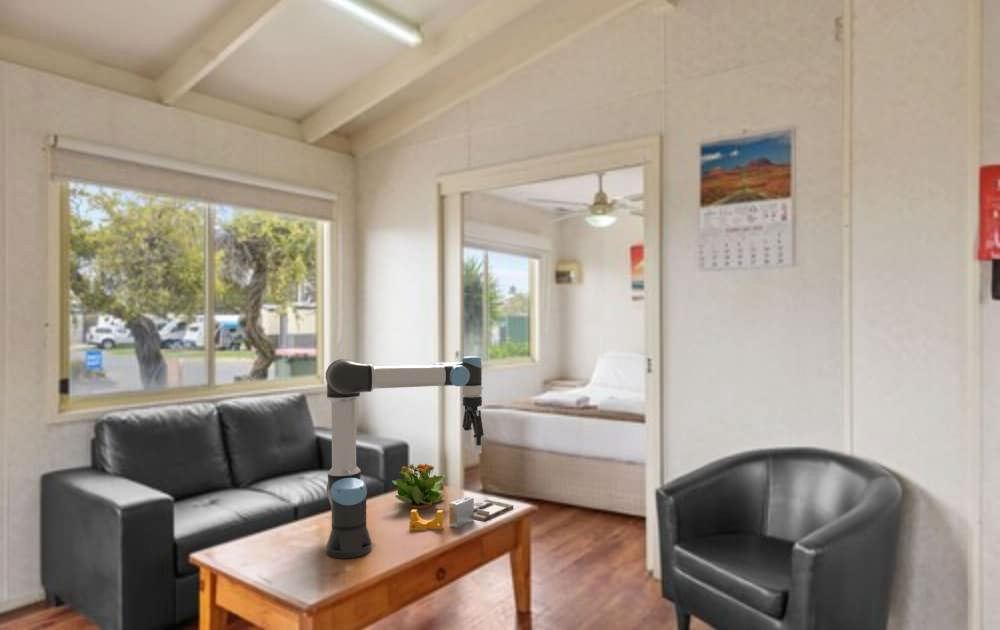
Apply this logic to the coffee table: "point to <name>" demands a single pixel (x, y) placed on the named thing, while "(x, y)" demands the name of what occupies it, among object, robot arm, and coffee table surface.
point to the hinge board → (487, 504)
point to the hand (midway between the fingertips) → (472, 450)
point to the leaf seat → (493, 508)
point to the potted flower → (419, 487)
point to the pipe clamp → (426, 521)
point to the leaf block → (461, 512)
